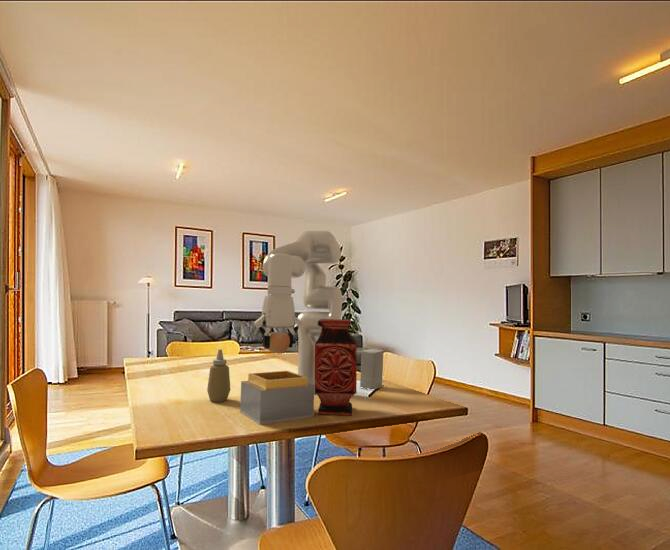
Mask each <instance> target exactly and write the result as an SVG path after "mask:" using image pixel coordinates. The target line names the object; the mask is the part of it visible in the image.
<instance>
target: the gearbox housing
mask: <svg viewBox="0 0 670 550" xmlns="http://www.w3.org/2000/svg"><path fill="white" fill-rule="evenodd" d="M247 377H248V380H241V382H240V403H239V404H240V409H239V410H240V413H241V414H242V415H244V416H246V417H248V418H249V419H250V420H252V421H253V422H254V423H257V424H259V425H266V424H267V425H268V424H272V423H273V424H274V423H279V422H286V421H287V422H288V421H294V420H295V421H296V420H301V419H302V420H303V419H308V418H314V416H315V415H314V414H315V413H314V411H315V410H314V407H315V393H314V385H312V384H309V383H307V377H305V376H302V375H299V374H298V373H295V372H292V371H290V370H279V371H265V372H254V373H253V372H252V373H251V372H250V373H248V376H247Z"/></svg>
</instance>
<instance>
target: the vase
mask: <svg viewBox="0 0 670 550" xmlns="http://www.w3.org/2000/svg"><path fill="white" fill-rule="evenodd" d="M318 325H319V326H321V327H322V329H321V334H320V336H319V337H317V338H318V340H317V342H316V343H315V393H314V394H316V395H317V396H318V398H319V401H320V403H319V407H318V410H317V412H318V415H328V416H352V415H353V404H352V402H351V399H352V398H353V396H355V395H356V394H357V393H358V392H357V383H358V382H357V381H358V379H357V340H356V338H354V336H353V335H351V333H350V331H349V327H351V326H352V320H351V319H341V320H340V319H320V320H319V321H318Z"/></svg>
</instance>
